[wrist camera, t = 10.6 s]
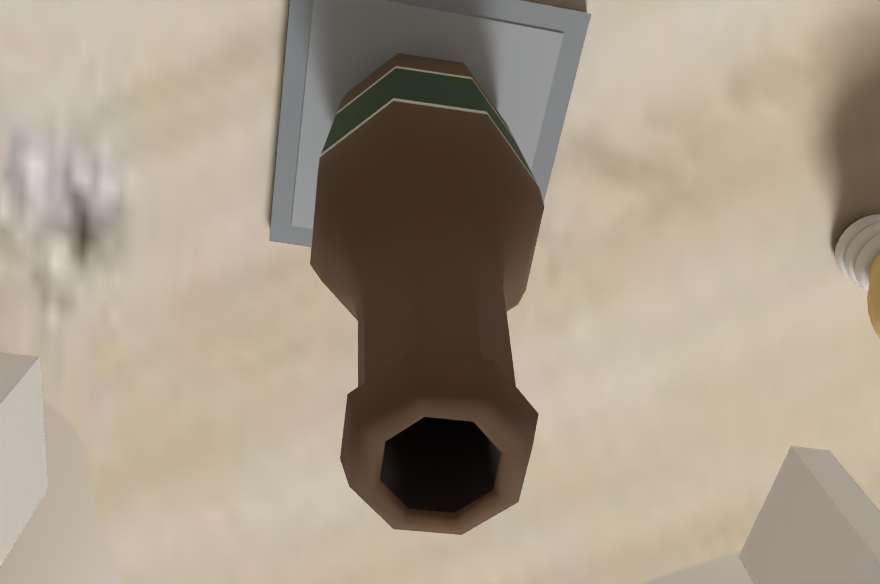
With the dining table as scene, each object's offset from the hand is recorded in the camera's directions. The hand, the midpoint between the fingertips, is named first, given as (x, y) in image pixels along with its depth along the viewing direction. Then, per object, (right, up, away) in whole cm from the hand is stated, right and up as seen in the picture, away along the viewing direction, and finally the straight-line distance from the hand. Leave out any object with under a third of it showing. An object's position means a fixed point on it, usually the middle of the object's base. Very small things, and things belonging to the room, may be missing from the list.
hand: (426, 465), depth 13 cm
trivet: (-1, +11, +22) cm, 25 cm away
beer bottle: (-1, +11, +22) cm, 24 cm away
